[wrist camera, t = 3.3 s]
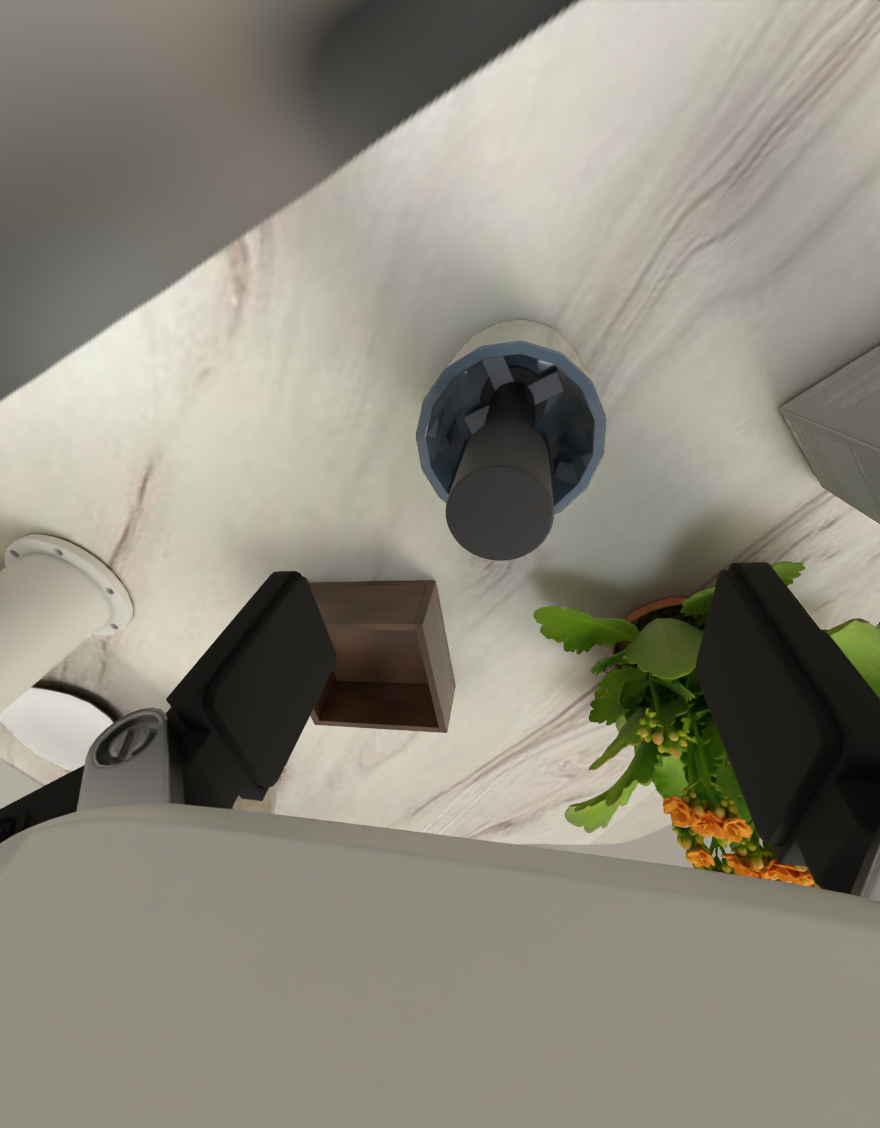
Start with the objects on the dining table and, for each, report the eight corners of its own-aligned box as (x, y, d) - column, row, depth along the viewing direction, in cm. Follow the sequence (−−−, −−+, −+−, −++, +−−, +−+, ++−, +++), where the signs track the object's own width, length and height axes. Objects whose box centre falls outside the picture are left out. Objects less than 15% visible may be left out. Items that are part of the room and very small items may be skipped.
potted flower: (468, 638, 40) (435, 843, 26) (681, 427, 27) (852, 612, 13) (668, 754, 45) (734, 983, 30) (934, 623, 31) (1270, 921, 17)
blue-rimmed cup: (455, 466, 31) (432, 529, 23) (437, 331, 26) (401, 357, 19) (581, 456, 29) (599, 522, 21) (587, 308, 24) (612, 328, 17)
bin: (334, 681, 47) (314, 724, 43) (294, 582, 40) (264, 623, 35) (455, 685, 44) (447, 733, 40) (435, 580, 37) (422, 623, 32)
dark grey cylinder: (489, 461, 29) (459, 605, 17) (448, 377, 27) (378, 474, 14) (576, 423, 27) (616, 558, 15) (541, 325, 24) (553, 390, 12)
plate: (54, 758, 72) (45, 768, 70) (-32, 669, 59) (-45, 679, 58) (169, 777, 68) (162, 788, 67) (104, 686, 56) (93, 697, 55)
